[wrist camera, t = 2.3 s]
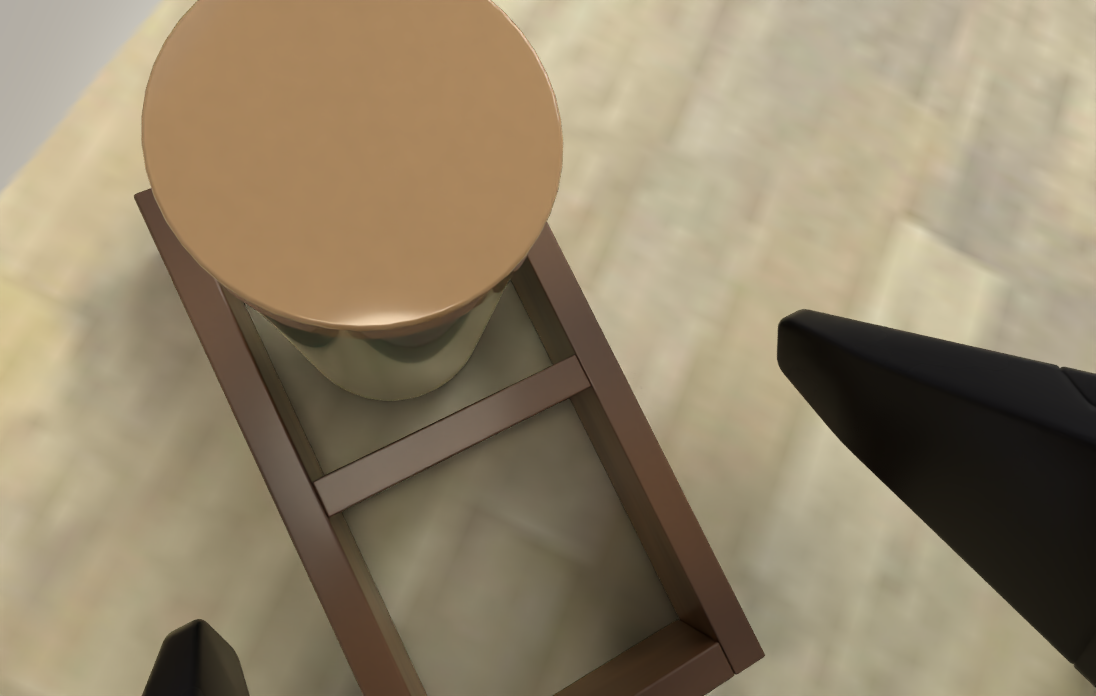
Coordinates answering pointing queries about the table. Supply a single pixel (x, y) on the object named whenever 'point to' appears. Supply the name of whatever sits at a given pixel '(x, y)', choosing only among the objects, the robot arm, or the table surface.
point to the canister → (356, 172)
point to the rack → (577, 373)
